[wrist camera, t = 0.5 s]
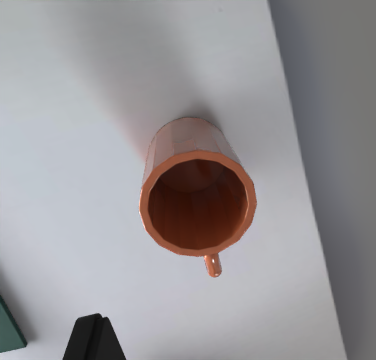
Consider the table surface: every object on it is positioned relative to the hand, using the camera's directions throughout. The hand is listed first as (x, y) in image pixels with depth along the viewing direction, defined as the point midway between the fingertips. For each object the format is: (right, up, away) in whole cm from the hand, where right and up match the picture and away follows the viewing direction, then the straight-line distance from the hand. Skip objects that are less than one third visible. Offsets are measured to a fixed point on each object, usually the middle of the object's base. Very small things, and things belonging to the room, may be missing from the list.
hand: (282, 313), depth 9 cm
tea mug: (-2, +4, +19) cm, 19 cm away
